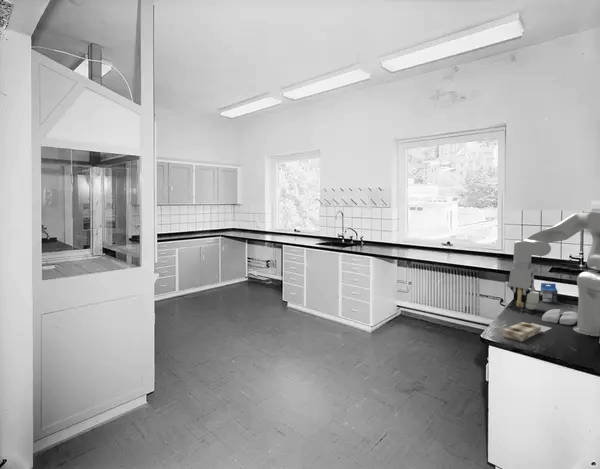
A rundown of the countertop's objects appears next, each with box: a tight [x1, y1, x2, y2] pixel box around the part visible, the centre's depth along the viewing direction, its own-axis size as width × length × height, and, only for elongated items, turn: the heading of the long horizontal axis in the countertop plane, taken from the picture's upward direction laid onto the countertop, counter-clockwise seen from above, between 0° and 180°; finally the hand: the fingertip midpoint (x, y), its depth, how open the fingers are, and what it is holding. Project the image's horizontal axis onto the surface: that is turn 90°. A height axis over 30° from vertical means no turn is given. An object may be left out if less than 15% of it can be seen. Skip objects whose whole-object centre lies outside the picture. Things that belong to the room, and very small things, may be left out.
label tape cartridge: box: [540, 282, 558, 304], centre depth 243 cm, size 9×4×12 cm, turn 73°
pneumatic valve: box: [525, 291, 543, 311], centre depth 227 cm, size 6×12×12 cm, turn 56°
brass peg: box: [515, 288, 524, 308], centre depth 180 cm, size 3×3×10 cm
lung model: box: [541, 308, 578, 326], centre depth 207 cm, size 7×17×25 cm
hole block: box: [502, 321, 542, 342], centre depth 183 cm, size 9×20×4 cm, turn 123°
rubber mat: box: [530, 322, 552, 333], centre depth 192 cm, size 10×10×1 cm
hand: (520, 301), depth 180 cm, fingers closed on brass peg, 3 cm apart
